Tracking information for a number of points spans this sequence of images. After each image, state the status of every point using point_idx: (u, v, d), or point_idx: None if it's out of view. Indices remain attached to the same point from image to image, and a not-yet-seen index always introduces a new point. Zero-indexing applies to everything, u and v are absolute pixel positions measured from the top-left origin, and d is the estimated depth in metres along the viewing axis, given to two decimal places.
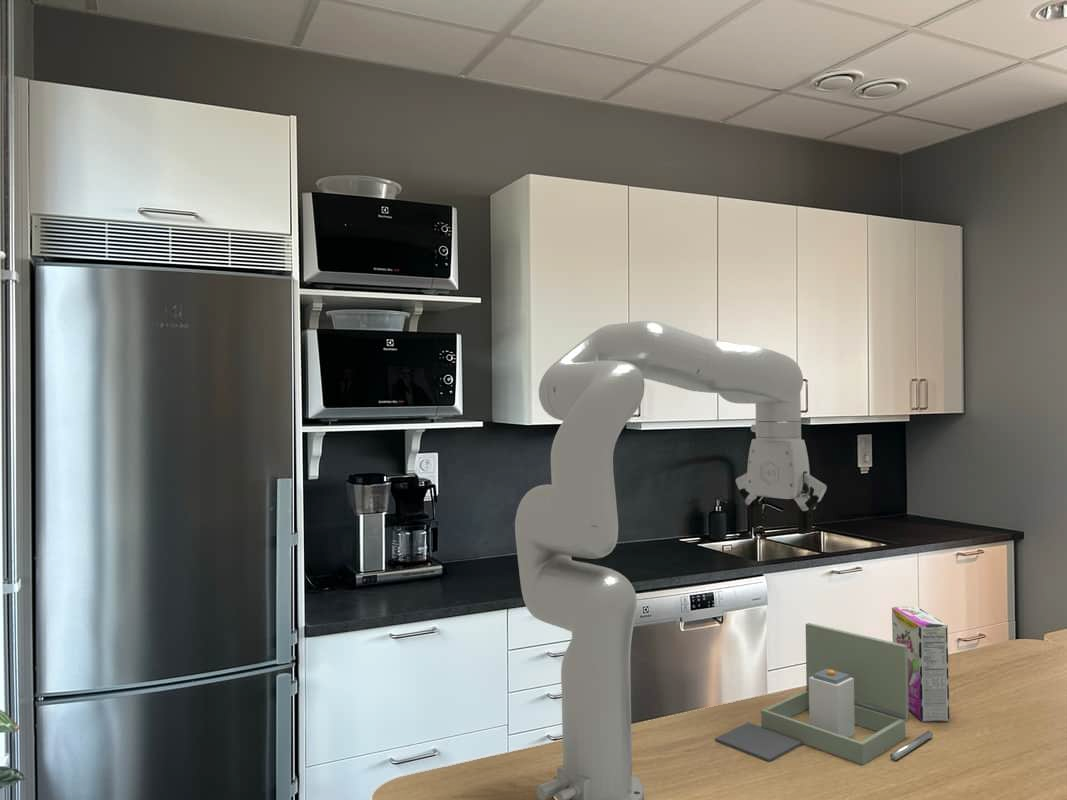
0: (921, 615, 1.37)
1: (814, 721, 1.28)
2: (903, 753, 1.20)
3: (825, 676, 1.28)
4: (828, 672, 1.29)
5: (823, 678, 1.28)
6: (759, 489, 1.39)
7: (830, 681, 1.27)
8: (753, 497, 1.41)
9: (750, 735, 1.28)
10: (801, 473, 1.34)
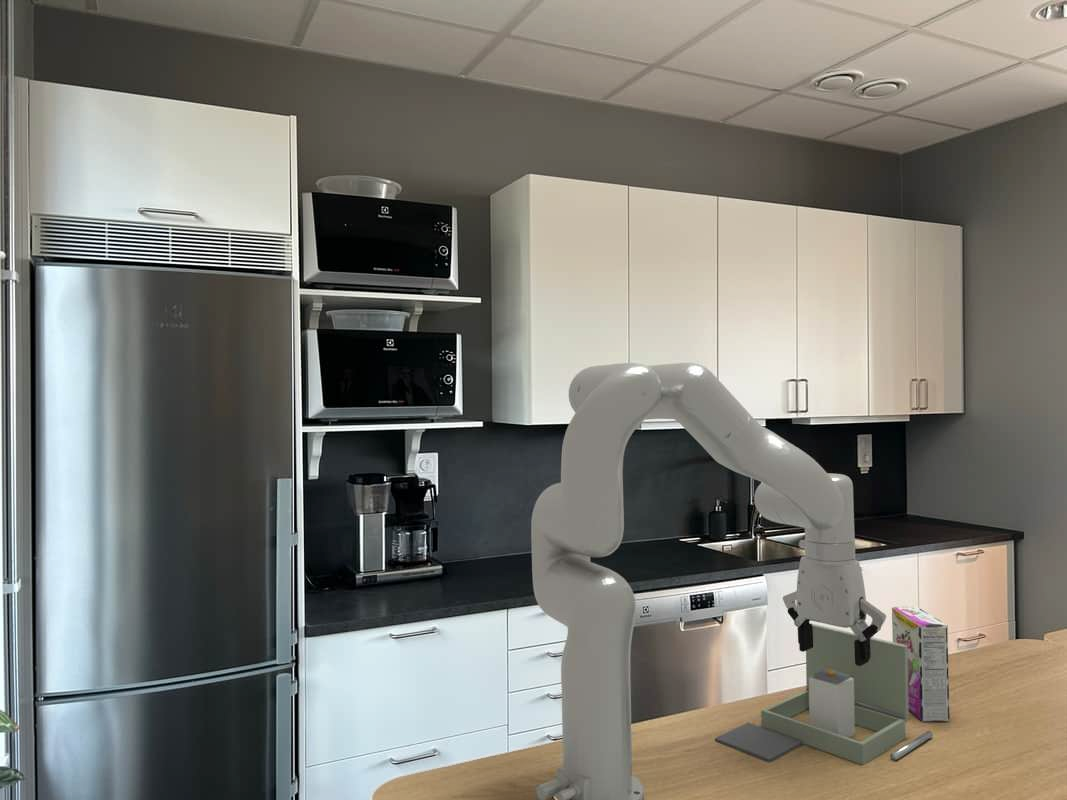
0: (921, 615, 1.37)
1: (814, 721, 1.28)
2: (903, 753, 1.20)
3: (825, 676, 1.28)
4: (828, 672, 1.28)
5: (823, 678, 1.28)
6: (810, 613, 1.29)
7: (830, 681, 1.27)
8: (803, 619, 1.31)
9: (750, 735, 1.28)
10: (857, 600, 1.24)
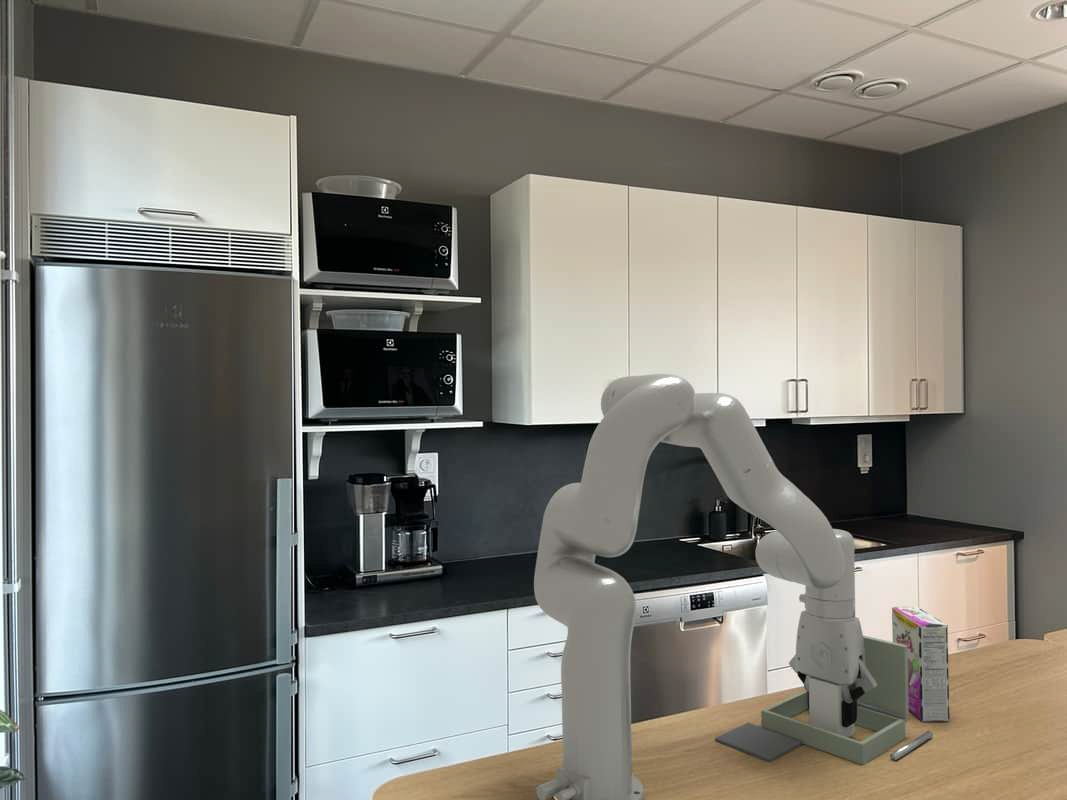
0: (921, 615, 1.37)
1: (814, 721, 1.28)
2: (903, 753, 1.20)
3: None
4: None
5: None
6: (810, 669, 1.29)
7: None
8: None
9: (750, 735, 1.28)
10: (857, 658, 1.24)
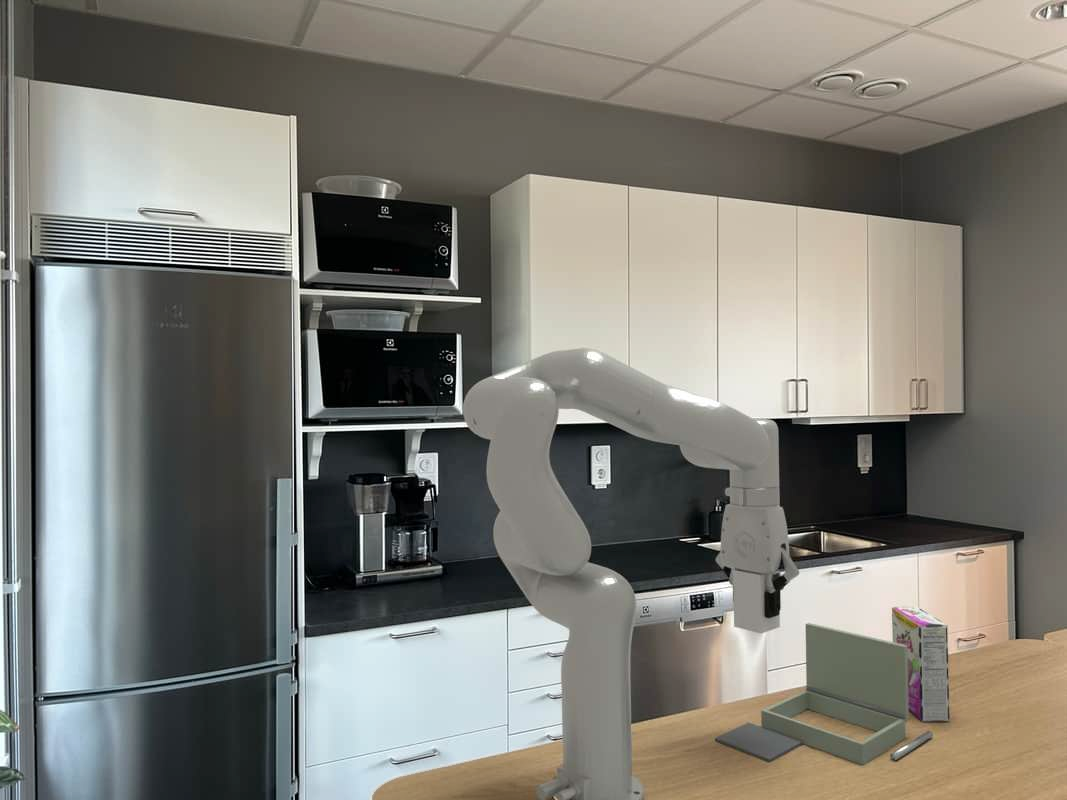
0: (921, 615, 1.37)
1: (738, 614, 1.26)
2: (903, 753, 1.20)
3: None
4: None
5: None
6: (733, 561, 1.26)
7: None
8: None
9: (750, 735, 1.28)
10: (779, 546, 1.21)
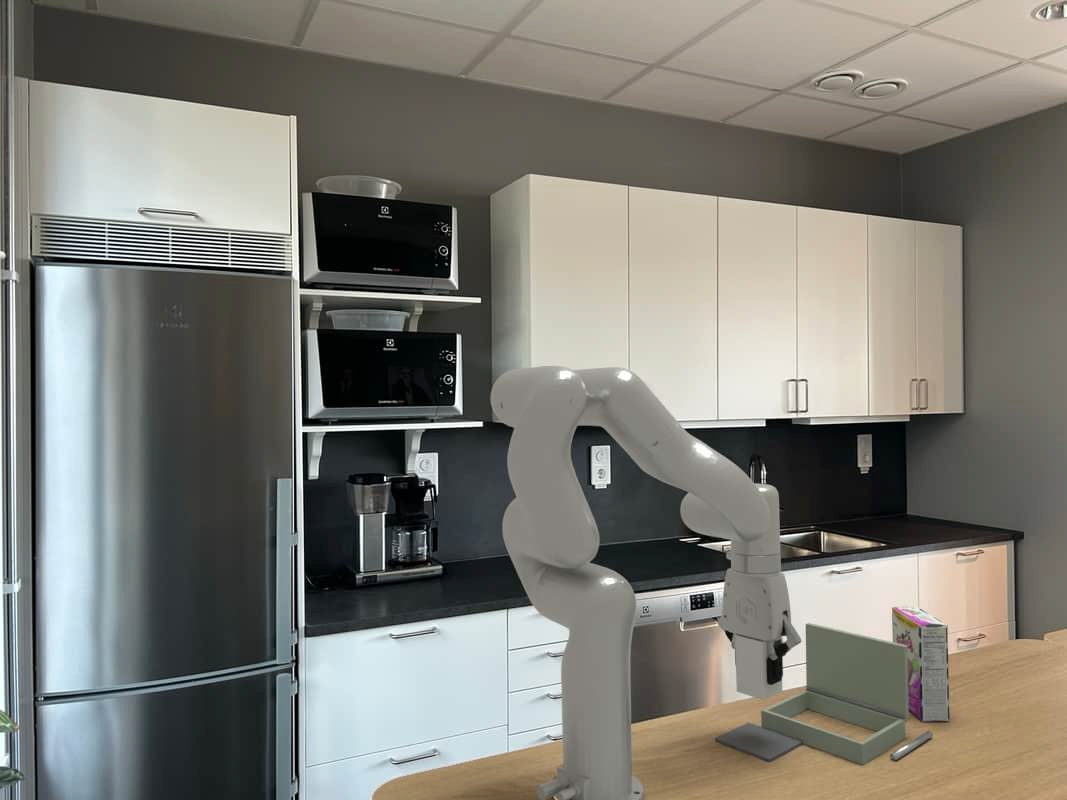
0: (921, 615, 1.37)
1: (741, 679, 1.26)
2: (903, 753, 1.20)
3: None
4: None
5: None
6: (735, 626, 1.26)
7: None
8: None
9: (750, 735, 1.28)
10: (781, 614, 1.21)
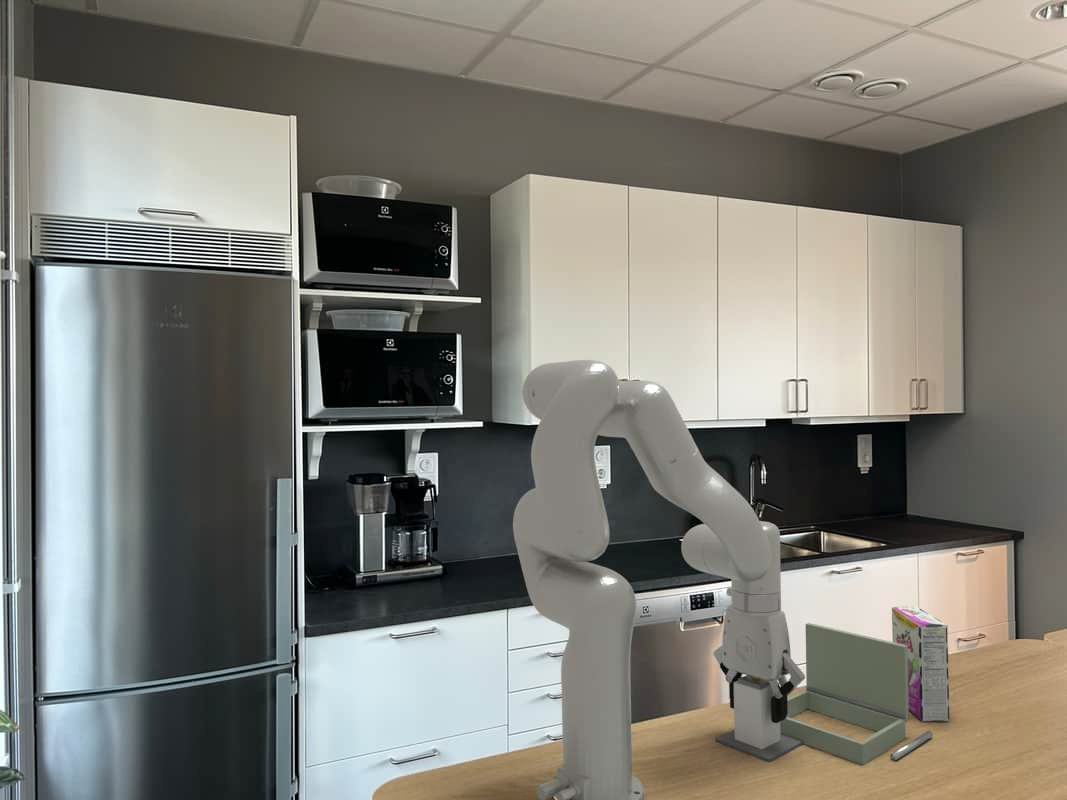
0: (921, 615, 1.37)
1: (739, 727, 1.26)
2: (903, 753, 1.20)
3: (749, 681, 1.25)
4: (753, 677, 1.26)
5: (747, 683, 1.25)
6: (735, 664, 1.26)
7: (754, 686, 1.24)
8: (734, 675, 1.28)
9: None
10: (780, 653, 1.21)
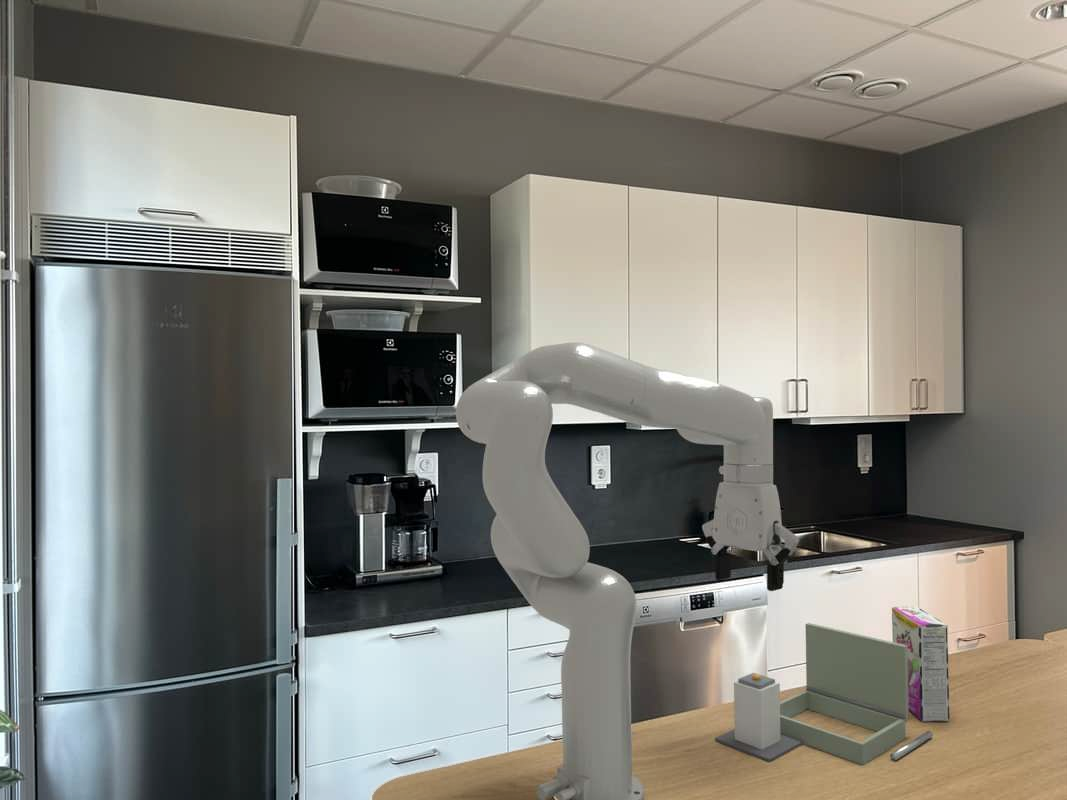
0: (921, 615, 1.37)
1: (739, 727, 1.26)
2: (903, 753, 1.20)
3: (750, 681, 1.25)
4: (753, 677, 1.26)
5: (748, 683, 1.25)
6: (726, 538, 1.26)
7: (754, 686, 1.24)
8: (720, 546, 1.28)
9: None
10: (771, 523, 1.21)
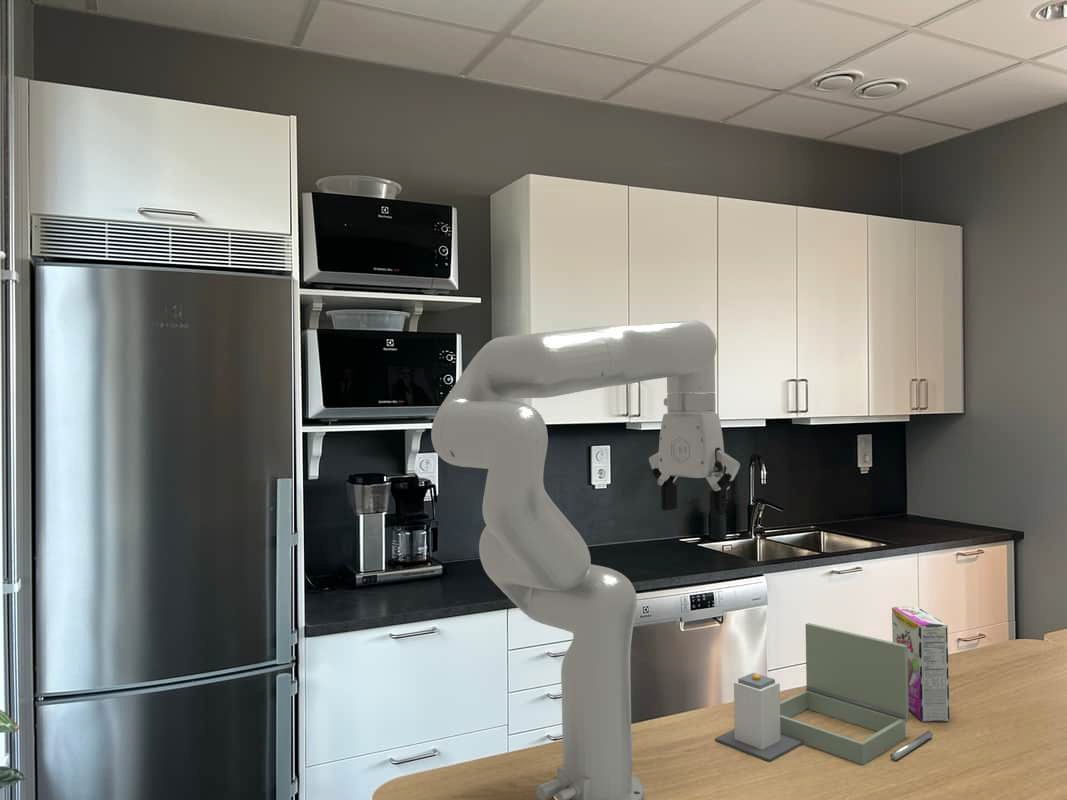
0: (921, 615, 1.37)
1: (739, 727, 1.26)
2: (903, 753, 1.20)
3: (750, 681, 1.25)
4: (753, 677, 1.26)
5: (748, 683, 1.25)
6: (670, 468, 1.27)
7: (754, 686, 1.24)
8: (665, 477, 1.29)
9: None
10: (713, 449, 1.22)
